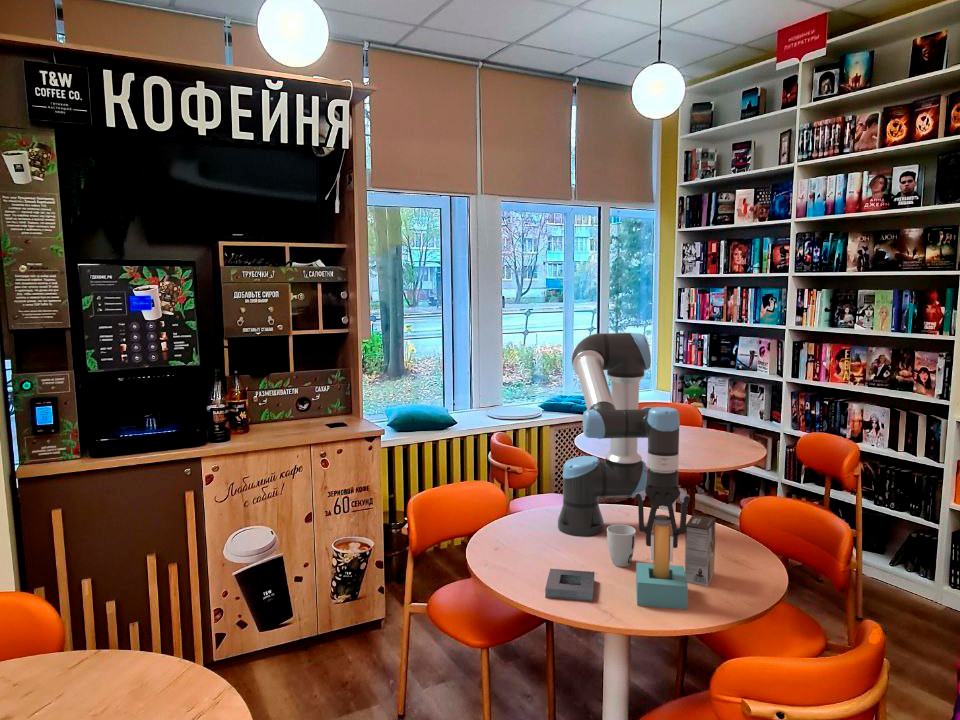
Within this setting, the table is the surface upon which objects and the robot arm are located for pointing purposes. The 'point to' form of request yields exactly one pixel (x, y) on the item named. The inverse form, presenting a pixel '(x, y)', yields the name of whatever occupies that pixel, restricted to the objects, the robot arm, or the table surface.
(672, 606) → the socket
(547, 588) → the mount
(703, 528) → the coffee box
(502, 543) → the table surface
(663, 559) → the pin
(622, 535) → the cup
